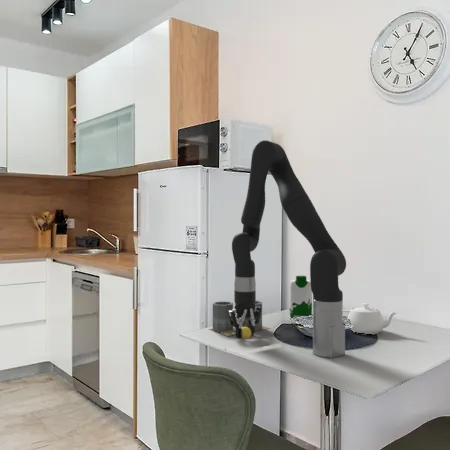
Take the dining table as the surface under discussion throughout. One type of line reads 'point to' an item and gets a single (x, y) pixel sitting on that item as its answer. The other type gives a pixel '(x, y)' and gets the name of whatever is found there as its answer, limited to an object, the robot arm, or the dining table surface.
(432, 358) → the dining table surface
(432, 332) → the dining table surface
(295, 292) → the milk carton
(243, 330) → the mustard ball
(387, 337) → the dining table surface
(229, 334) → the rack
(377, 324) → the teapot
